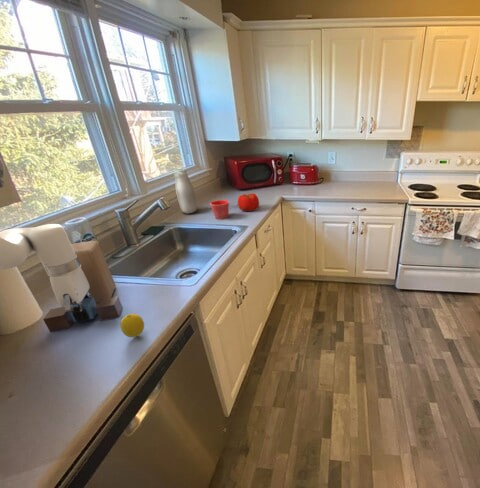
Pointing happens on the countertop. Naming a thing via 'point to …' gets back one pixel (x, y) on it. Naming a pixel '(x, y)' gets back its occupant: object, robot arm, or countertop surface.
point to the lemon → (132, 325)
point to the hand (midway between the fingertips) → (86, 314)
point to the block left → (58, 319)
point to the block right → (109, 308)
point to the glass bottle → (185, 192)
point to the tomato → (248, 202)
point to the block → (95, 269)
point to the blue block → (87, 307)
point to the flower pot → (220, 209)
